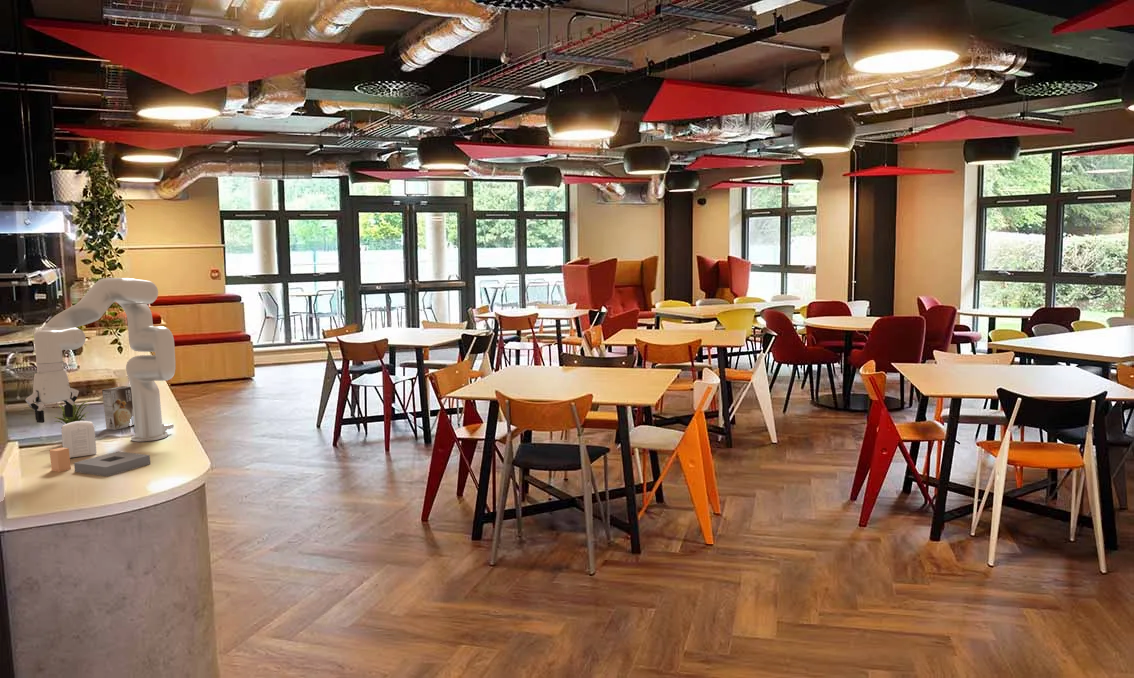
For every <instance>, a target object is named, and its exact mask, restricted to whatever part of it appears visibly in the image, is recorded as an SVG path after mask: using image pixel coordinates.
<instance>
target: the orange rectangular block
mask: <svg viewBox="0 0 1134 678" xmlns="http://www.w3.org/2000/svg"><path fill="white" fill-rule="evenodd" d="M49 457H50V458H49V459H50V467H51V471H52V472H56V473H57V472H58V473H61V472H65V471H68V470H71V469H72V466H71V458H70V455H69V448H63V446H62V447H57V448H53V449H49Z"/></svg>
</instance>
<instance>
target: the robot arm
mask: <svg viewBox="0 0 1134 678" xmlns="http://www.w3.org/2000/svg"><path fill="white" fill-rule="evenodd" d="M158 296H159V289H158V287H157V285H156V284H155V283H154V282H153V281H151V280H145V279H137V278H130V277H105V278H100V279H99V280H97V281H96V282H95V283H94V284H93V285H92V286H91V287H90V289H89V290H88V291H87V292H86V293H85V295H83V296H82V298H81V299H80V300H79V301H77V303H76V304H73V305H72V306H69V307H68V308H65V310H62V311H61V312H59V313H57V314H56V315H53V317H51V318H50V319H49V321H47V322H46V324H45V325H44V326H43V327H42V329H40V330H37V331H35V332H34V333H33V339H34V340H33V342H34V351H35V360H36V372H37V373H34V377H33V382H32V383H33V385H32V387H33V389H32V394H29V396H28V397H26V398H25V402H26V403H27V405H28V406H29V408H31V409H32V410H33V411H34V416H35V421H36V423H40V424H42V423H45V422H46V421H45V412H44V410H43V409H44V406H45V405H48V404H53V403H59V402H63V403H64V406H63V407H64V409H65V417H73V405H74V402H76V401H77V400H78V399H77V398H78V395H79V392H80V390H78V389H76V388H73V387H71V386H70V380H69V378H68V377H69V376H68V374H67V370H65V367H67V365H68V364H67V363H66V362H64V360H63V359H64V358H63V351H64V350H65V351H72V350H73V351H74V350H77V349H80V348H82V347H83V346H84V345H85V343H86V334H85V332H84V331H83V330H82V329H80V328H78V327H81V326H85V325H89V324H92V323H95V322H97V321H99V320H100V319H101V318H102V317H103V315H104V314H105V313H106V312H107V310H108V309H110V307H111V306H112V304H113V303H117V305H119V306H120V307H121V308H122V309H123V311H124V313H125V315H126V320H127V333H128V334H127V335H128V345H129V347H130V349H131V350H132V351H134V352H137V353H139V352H140V353H141V352H142V353H146V352H147V353H151V352H152V353H154V355H152V354H149V355H148V354H146V355H145V354H144V355H135V356H131V358H129V360H128V361H127V362H126V365H125V371H126V372H125V373H126V376H127V378H128V381H129V385H130V386H129V387H131V393H132V404H133V414H134V425H135V426H134V433H135V434H134V435H132V436H131V437H130V440H131V441H132V442H151V441H153V442H154V441H158V440H162V439H165V438H167V437H168V433H169V432H167V430H170V429H174V423H168V424H165V423H163V416H162V407H161V406H162V405H161V393H160V389H159V387H158V385H157V383H156V381H157V382H159V381H162V382H164V381H169V380H171V379H173V377H174V376H175V373H176V349H175V339H174V335H173V332H172V331H171V330H170V328H168V327H166V326H161V325H160V326H159V325H158V326H157V325H155V326H154V323H153V322H154V321H153V313H152V310H151V308H150V307H149V305H151V304H153V303H154V302H156V300H157V298H159V297H158Z"/></svg>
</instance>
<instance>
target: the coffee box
mask: <svg viewBox="0 0 1134 678" xmlns="http://www.w3.org/2000/svg"><path fill="white" fill-rule="evenodd" d="M101 391H102V394H101V395H102V401H103V409H104V419H105V427H106V430H107V429H108V430H114V431H117V430H121V429H126V428H129V427H128V426H129V423H130V419H131V417H132V416H134V414H133V404H132V393H131V386H124V385H122V386H116V387H109V388H105V389H101Z"/></svg>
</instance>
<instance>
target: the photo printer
mask: <svg viewBox="0 0 1134 678" xmlns="http://www.w3.org/2000/svg"><path fill="white" fill-rule="evenodd" d="M61 428H62V429H61V432H60V433H61V441H62V448H69V455H70V459H71V458H77V457H78V458H79V457H86V456H94V455H97V453H98V452H97V444H96V430H95V426H94V423H93V421H90V420H89V421H88V420H80V421H75V422H71V423H67V424H66V423H65V424H63V425H62V427H61Z"/></svg>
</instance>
